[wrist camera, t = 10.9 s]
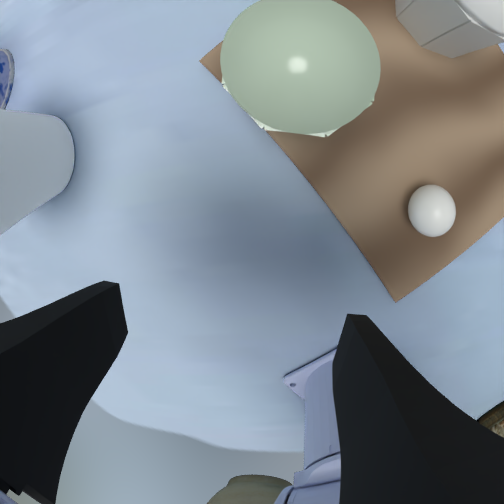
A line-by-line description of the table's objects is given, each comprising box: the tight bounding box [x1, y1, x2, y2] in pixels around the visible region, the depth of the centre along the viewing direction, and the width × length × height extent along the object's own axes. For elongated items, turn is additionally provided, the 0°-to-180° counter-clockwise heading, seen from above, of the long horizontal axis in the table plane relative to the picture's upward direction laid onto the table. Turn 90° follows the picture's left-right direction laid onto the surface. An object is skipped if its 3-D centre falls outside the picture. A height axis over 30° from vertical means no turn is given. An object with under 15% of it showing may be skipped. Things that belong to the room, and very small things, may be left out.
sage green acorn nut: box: [220, 0, 381, 137], centre depth 11 cm, size 6×6×7 cm
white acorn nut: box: [395, 0, 504, 58], centre depth 8 cm, size 6×6×7 cm
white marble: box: [408, 185, 456, 237], centre depth 15 cm, size 3×3×3 cm
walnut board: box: [199, 0, 504, 303], centre depth 14 cm, size 20×18×1 cm
